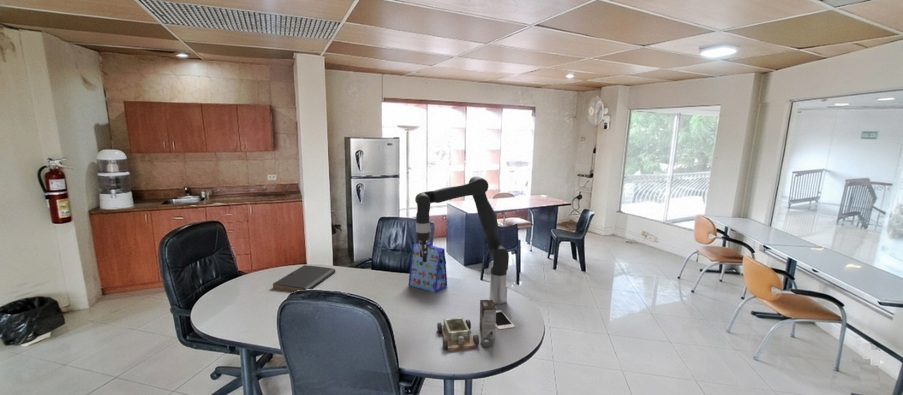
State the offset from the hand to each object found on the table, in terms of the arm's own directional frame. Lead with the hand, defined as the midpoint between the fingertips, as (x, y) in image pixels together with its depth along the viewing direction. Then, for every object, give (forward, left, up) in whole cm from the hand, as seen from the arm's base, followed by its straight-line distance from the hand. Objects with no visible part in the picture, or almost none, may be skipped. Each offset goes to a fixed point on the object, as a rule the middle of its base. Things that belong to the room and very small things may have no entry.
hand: (423, 259), depth 200 cm
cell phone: (-38, +20, -30) cm, 52 cm away
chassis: (-12, +32, -29) cm, 45 cm away
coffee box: (-27, +32, -29) cm, 51 cm away
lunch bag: (-7, -29, -29) cm, 42 cm away
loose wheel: (-24, +40, -29) cm, 55 cm away
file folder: (+70, -53, -30) cm, 93 cm away
